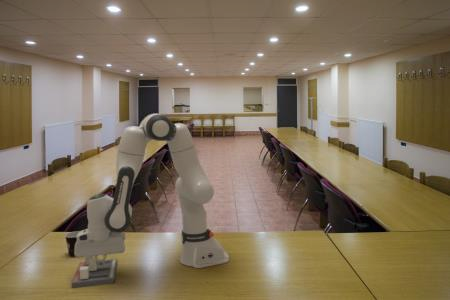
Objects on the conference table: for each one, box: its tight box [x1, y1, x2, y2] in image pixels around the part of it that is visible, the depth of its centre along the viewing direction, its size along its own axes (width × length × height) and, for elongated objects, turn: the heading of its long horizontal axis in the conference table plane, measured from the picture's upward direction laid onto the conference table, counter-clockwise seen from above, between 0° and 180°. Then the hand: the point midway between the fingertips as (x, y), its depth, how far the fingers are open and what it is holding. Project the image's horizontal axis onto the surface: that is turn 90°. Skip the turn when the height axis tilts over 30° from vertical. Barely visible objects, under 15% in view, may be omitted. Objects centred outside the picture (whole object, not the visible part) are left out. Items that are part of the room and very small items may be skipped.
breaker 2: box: [84, 256, 94, 265], centre depth 160 cm, size 3×3×4 cm
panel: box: [71, 258, 118, 289], centre depth 155 cm, size 16×20×2 cm
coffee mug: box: [64, 230, 81, 258], centre depth 175 cm, size 12×9×10 cm
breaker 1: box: [80, 266, 89, 279], centre depth 147 cm, size 3×3×4 cm
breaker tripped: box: [89, 258, 97, 271], centre depth 154 cm, size 3×3×4 cm
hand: (100, 264), depth 155 cm, fingers closed
